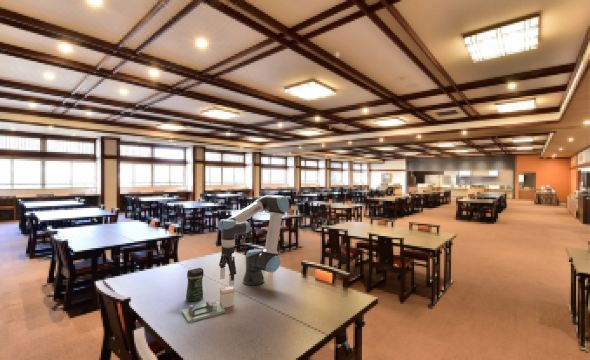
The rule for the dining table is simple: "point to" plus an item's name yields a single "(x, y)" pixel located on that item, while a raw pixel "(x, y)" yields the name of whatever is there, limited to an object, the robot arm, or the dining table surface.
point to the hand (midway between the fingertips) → (226, 282)
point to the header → (208, 306)
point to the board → (216, 310)
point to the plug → (227, 296)
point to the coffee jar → (195, 284)
